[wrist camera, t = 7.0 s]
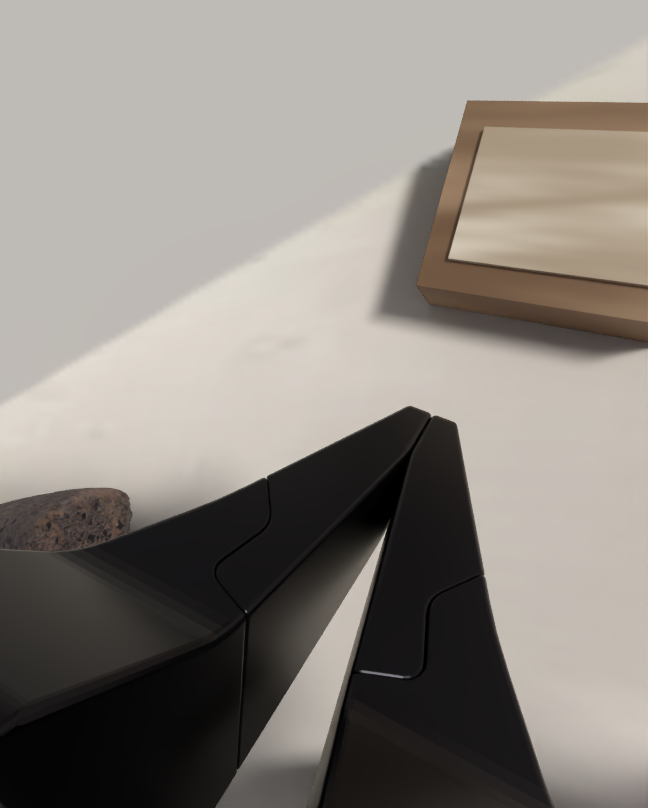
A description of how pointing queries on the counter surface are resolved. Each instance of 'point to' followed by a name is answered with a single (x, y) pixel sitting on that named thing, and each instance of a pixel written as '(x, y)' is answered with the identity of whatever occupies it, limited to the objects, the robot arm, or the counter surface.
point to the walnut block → (546, 217)
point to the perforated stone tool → (64, 520)
